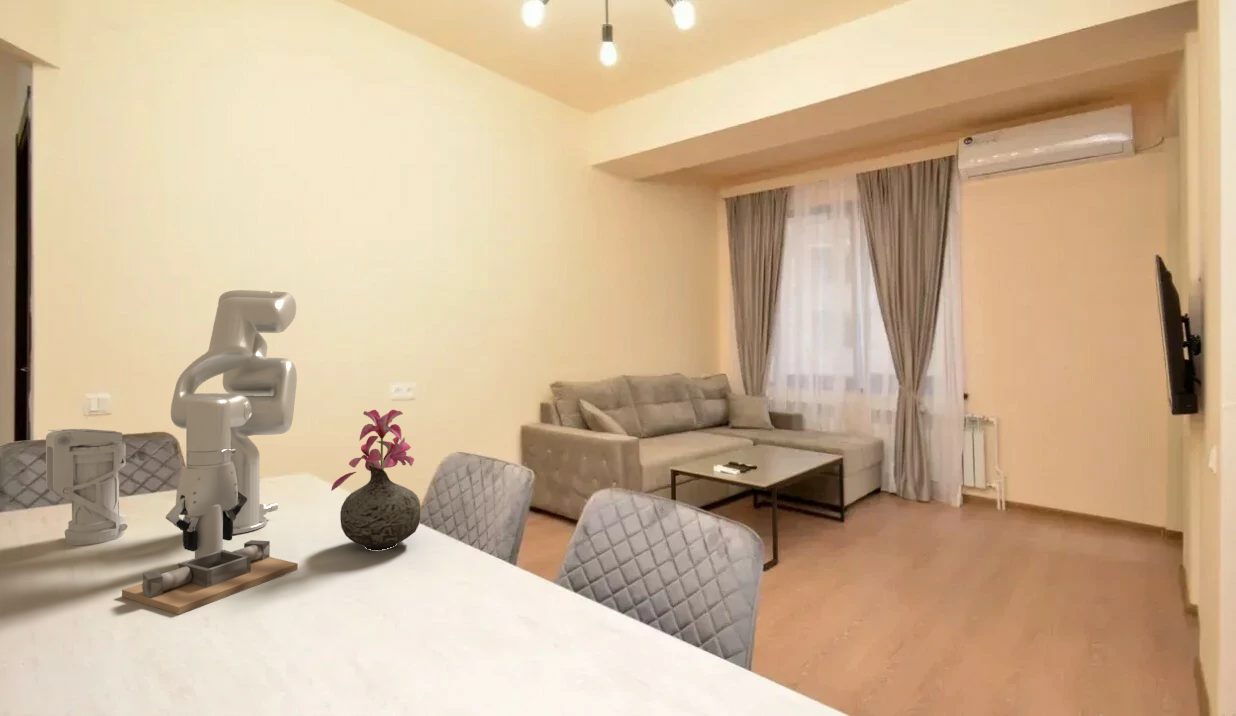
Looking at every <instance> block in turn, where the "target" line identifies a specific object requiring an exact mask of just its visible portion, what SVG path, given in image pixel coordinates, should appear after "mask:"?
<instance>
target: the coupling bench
mask: <svg viewBox="0 0 1236 716" xmlns="http://www.w3.org/2000/svg"><path fill="white" fill-rule="evenodd" d="M270 548H271V546H270V540H259V539H258V540H256V539H255V540H254V539H251V540H249V541H246V542H244V544H243V548H240V549H236V550H233V551H229V550H225V549H223V550H221V551H217V552H214V553H211V554H208V555H204V556H201V557H198V558H195V557H194V558H192V559H188V560H186V561H182V562H178V568H175V569H173V570H169V571H167V572H164V573H161V572H160V571H159V570H152V571H147V572H143V573H142V582H141V583H139V584H136V585H133V586H130V587H127V588H124V589H122V590H121V597H122V598H125V599H128V600H131V601H134V602H138V603H141V604H144V605H147V606H151V607H154V608H157V609H160V610H164V611H165V612H168V613H169V612H170V613H172V614H173V613H174V614H176V615H182V614H185V613H188V612H190V611H192V610H195V609H198V608H201V607H203V606H206V605H208V604H211V603H213V602H217V601H219V600H221V599H224V598H226V597H229V596H232V595H234V594H237V593H240V592H242V591H245V590H247V589H251V588H253V587H255V586H257V585H261V584H263V583H265V582H269V581H271V580H274V579H276V578H279V577H282V576H285V575H286V573H287V574H290V573H292V572H294V570H295V571H298V570H297V569H299V563H298V562H292V561H288V560H285V559H281V558H280V559H279V558H275V557H271V556H270V555H271V554H270V553H271V551H270V550H271V549H270ZM289 572H290V573H289ZM281 575H282V576H281Z"/></svg>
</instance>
